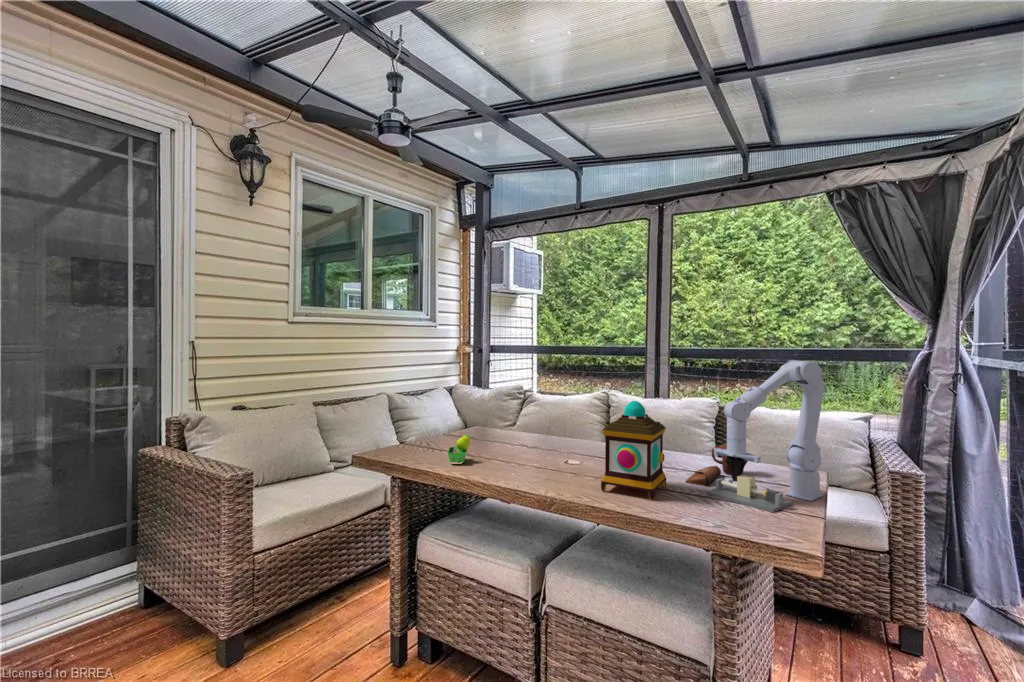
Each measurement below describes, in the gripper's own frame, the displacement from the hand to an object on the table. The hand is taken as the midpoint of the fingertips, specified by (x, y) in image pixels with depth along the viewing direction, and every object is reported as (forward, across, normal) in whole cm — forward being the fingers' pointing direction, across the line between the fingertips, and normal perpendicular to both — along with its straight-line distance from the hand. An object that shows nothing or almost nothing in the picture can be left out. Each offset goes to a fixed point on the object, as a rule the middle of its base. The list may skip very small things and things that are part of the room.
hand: (736, 480), depth 156 cm
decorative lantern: (+5, -24, -21) cm, 33 cm away
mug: (+5, -16, +25) cm, 30 cm away
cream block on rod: (+4, +3, 0) cm, 5 cm away
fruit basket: (+5, -90, -50) cm, 103 cm away
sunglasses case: (+6, -17, +10) cm, 21 cm away
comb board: (+5, +4, 0) cm, 6 cm away
